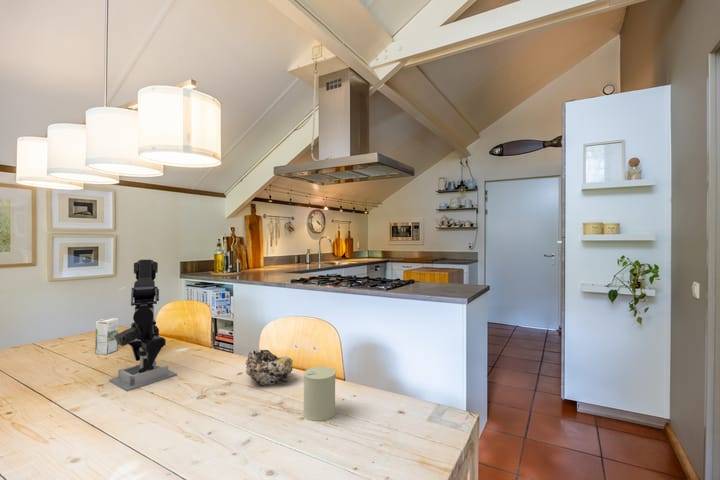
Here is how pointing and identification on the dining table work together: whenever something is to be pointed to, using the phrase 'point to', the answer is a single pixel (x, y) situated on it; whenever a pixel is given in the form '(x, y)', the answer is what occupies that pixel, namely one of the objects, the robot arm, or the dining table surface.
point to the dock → (140, 377)
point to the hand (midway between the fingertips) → (143, 363)
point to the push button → (143, 361)
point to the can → (319, 393)
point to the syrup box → (106, 335)
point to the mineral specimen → (268, 367)
